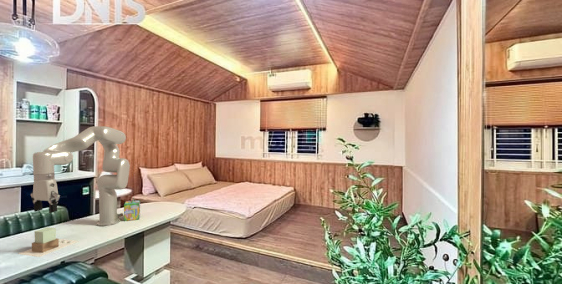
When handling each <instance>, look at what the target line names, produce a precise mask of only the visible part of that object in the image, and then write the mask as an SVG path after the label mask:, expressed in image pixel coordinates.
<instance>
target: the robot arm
mask: <svg viewBox="0 0 562 284" xmlns="http://www.w3.org/2000/svg"><path fill="white" fill-rule="evenodd" d="M126 140H127V136H126V134H125V132H123V131H122V130H118V129H116V128H113V127H110V126H105V125H103V126H102V125H101V126H95V125H94V126H90V127H88V128H86V129H84V130H83V131H81V132H79V133H78V134H76V135H75V136H74V137H73V136H72V137H71V138H68V139H65V140H63V141H60V142H59V141H58V142H57V143H54V144H53V145H50V146H49V147H47V148H45V149H44V150H43V151H38V152H34V153H33V154H32V170H33V171H32V172H33V189H32V192H31V193H30V196H31V200H32V203H33V211H34V212H35V213H36V212H39V211H42V210H43V202H42V201H44V202H48V203H49V205H48V213H49V214H52V213H55V212H58V203H59V201H60V196H61V195H60V194H59V191H58V184H57V180H56V178H55V166H64V165H68V164H70V163H71V162H73V159H74V154H72V153H75V152H76V153H77V152H81V151H84V150H86V149H88V148H89V147H90V146H92V145H93V144H94V143H96V142H99V144H100V145H101V146H102V148H103V150H104V151H103V160H102V165H101V166H102V171H103V172H105V173H110V174H102V175H101V176H99V177H98V178H97V180H96V186H97V190H98V204H99V205H98V207H99V211H98V213H99V221H97V222H96V226H97V227H98V226H99V227H105V226H106V227H107V226H112V225H115V224H118V223H120V221H121V219H120V217H122V216H123V217H124V212H121V213H118V200H117V199H118V195H117V192H116V191H117V190H124V189H125V188H126V187H127V186H128V182H129V177H130V169H131V168H130V167H131V165H130V164H131V163H130V161H129V160H128V159H126V158H124V157H120V148H119V146H118V145H121V144H123V143H125V142H126ZM111 173H112V174H111ZM114 173H116V174H114Z"/></svg>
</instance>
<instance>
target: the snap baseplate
mask: <svg viewBox="0 0 562 284" xmlns="http://www.w3.org/2000/svg"><path fill="white" fill-rule="evenodd" d="M58 239H59V247H56V248H54V249H51V250H49V251H46V252H43V253H41V252H34V251H32V248H29V249H27V250H24V251H21V252H19V253H17V254H18V255H22V256H23V255H24V256H31V257H37V258H40V257H43V256H46V255H48V254H51V253H54V252H56V251H59V250H61V249H64V248H66V247H68V246H71V245H73V244H76V243H79V242H80V241H79V240H71V239H65V238H64V239H63V238H58Z"/></svg>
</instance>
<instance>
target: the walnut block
mask: <svg viewBox="0 0 562 284" xmlns="http://www.w3.org/2000/svg"><path fill="white" fill-rule="evenodd" d="M59 239H60V238H57V237H56V239H55V240H52V241H49V242H46V243H44V244H42V243H35V241H33V242H31V249H32V251H34V252H41V253H43V252H46V251H49V250H51V249H54V248H56V247H59Z"/></svg>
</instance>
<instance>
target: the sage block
mask: <svg viewBox="0 0 562 284" xmlns="http://www.w3.org/2000/svg"><path fill="white" fill-rule="evenodd" d="M56 230H57V229H56V227H49V226H48V227H44V228H40V229H37V230H35V231H34V242H35V243H42V244H44V243H46V242H49V241H52V240H55V239H56V238H57V234H56V233H57V232H56Z"/></svg>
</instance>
